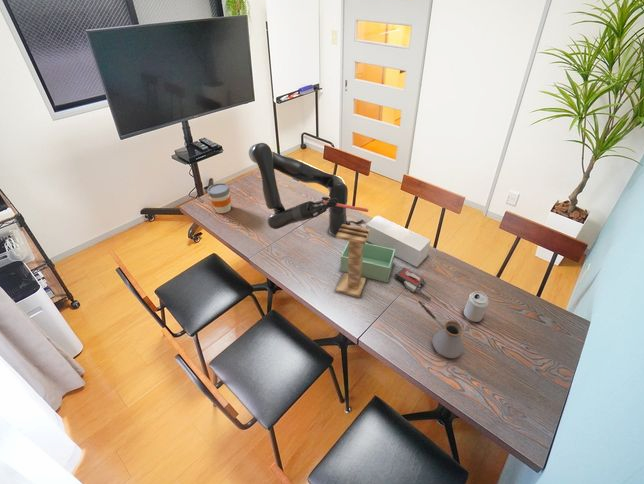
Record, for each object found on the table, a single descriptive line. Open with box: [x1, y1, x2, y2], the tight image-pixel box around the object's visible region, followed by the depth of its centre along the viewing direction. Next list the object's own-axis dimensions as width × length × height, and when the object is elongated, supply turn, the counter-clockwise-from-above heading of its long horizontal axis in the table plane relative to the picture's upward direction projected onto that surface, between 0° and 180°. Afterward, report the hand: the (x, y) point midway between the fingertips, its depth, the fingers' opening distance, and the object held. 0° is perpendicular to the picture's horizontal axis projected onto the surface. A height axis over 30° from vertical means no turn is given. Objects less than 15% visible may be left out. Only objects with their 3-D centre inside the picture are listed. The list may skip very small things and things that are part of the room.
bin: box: [340, 240, 395, 283], centre depth 159 cm, size 23×13×10 cm, turn 71°
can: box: [463, 290, 490, 323], centre depth 135 cm, size 8×8×12 cm
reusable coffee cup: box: [206, 182, 232, 214], centre depth 198 cm, size 13×13×15 cm
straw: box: [323, 201, 369, 213], centre depth 137 cm, size 20×1×1 cm, turn 71°
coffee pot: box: [416, 300, 464, 359], centre depth 125 cm, size 21×12×15 cm, turn 45°
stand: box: [335, 224, 370, 298], centre depth 142 cm, size 12×11×33 cm
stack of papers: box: [365, 214, 432, 268], centre depth 170 cm, size 32×11×11 cm, turn 49°
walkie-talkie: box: [394, 267, 432, 301], centre depth 151 cm, size 9×4×20 cm
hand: (336, 201), depth 137 cm, fingers closed on straw, 1 cm apart
